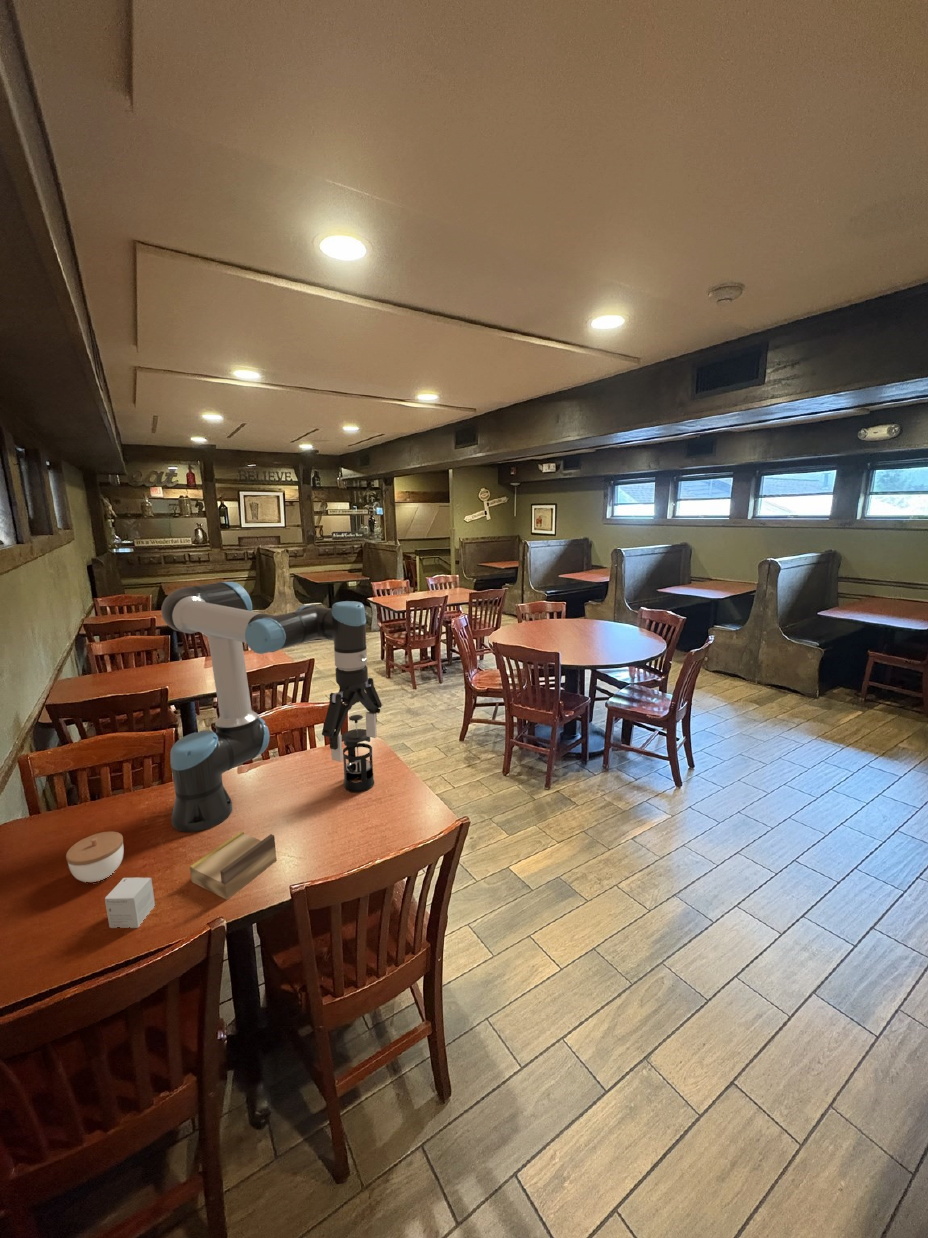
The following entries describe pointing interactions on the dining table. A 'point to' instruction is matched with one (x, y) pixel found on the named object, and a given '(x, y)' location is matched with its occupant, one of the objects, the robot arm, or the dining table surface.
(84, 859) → the lidded jar
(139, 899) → the product box
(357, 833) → the dining table surface
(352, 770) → the french press
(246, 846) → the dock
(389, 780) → the dining table surface
